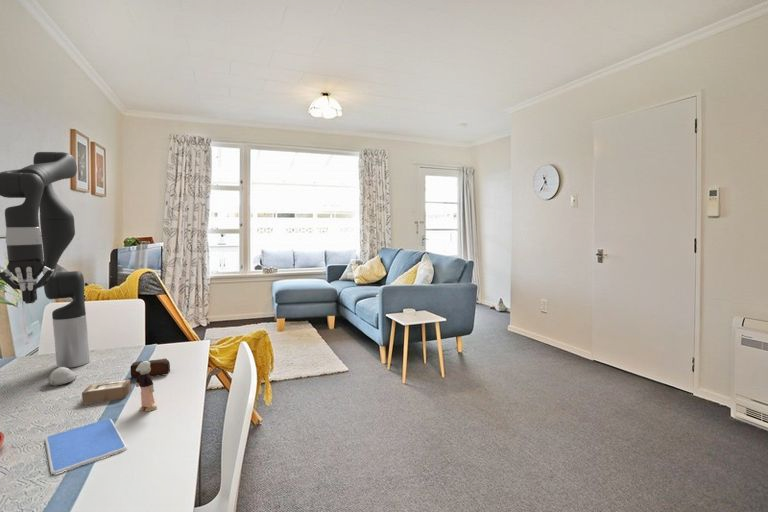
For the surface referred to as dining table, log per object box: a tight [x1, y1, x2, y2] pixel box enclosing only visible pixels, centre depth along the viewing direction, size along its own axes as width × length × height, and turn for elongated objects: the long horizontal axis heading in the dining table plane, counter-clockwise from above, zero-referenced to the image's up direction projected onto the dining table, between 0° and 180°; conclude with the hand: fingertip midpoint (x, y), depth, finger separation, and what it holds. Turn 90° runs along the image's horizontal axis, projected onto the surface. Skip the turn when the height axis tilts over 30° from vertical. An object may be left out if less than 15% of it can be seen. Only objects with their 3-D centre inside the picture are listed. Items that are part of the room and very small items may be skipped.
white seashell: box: [47, 367, 78, 387], centre depth 123 cm, size 9×8×5 cm
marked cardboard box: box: [81, 379, 132, 405], centre depth 111 cm, size 6×4×10 cm
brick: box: [130, 358, 171, 380], centre depth 127 cm, size 11×4×5 cm, turn 112°
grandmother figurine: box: [135, 360, 158, 413], centre depth 103 cm, size 8×4×13 cm, turn 71°
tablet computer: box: [44, 418, 128, 475], centre depth 86 cm, size 19×13×1 cm, turn 44°
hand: (30, 302), depth 113 cm, fingers closed
